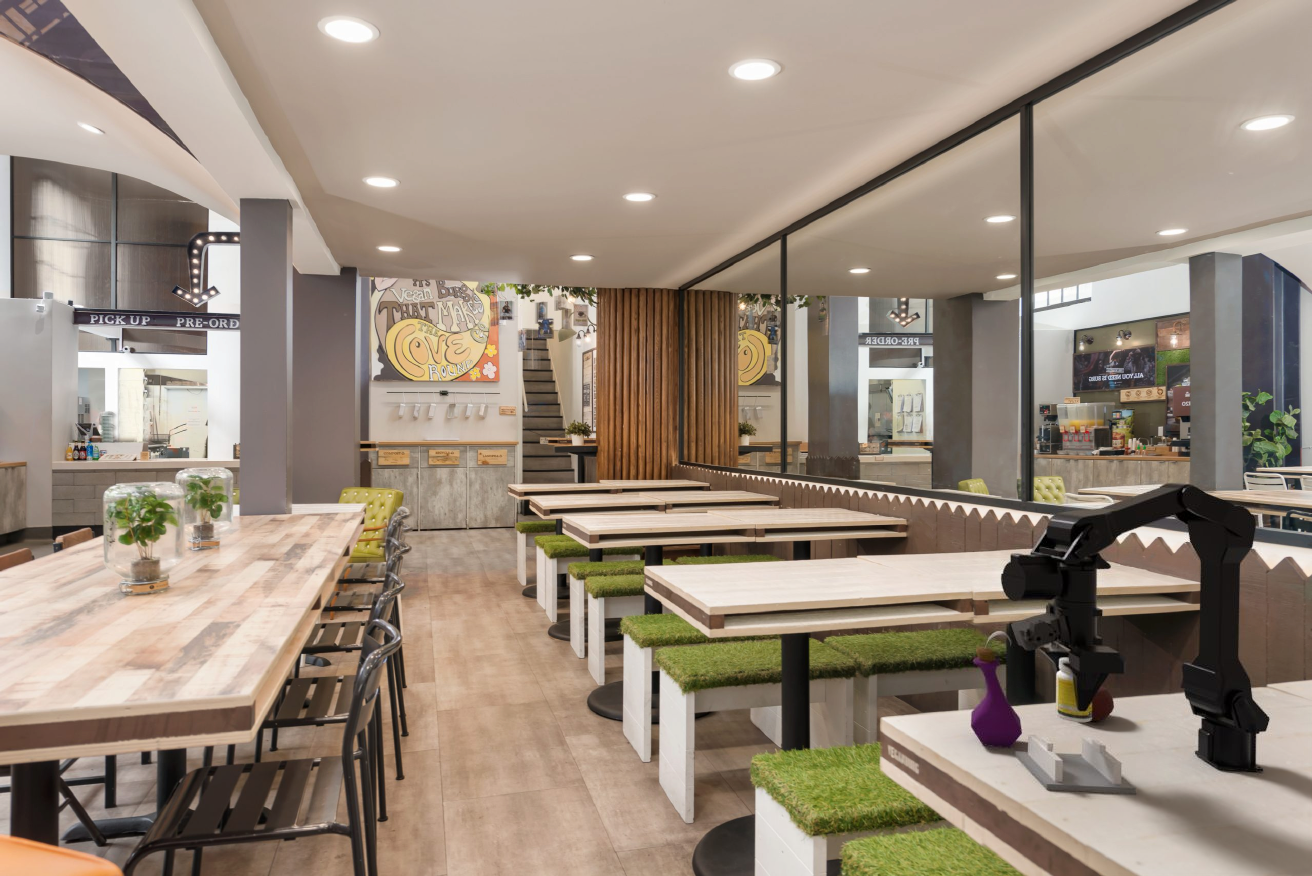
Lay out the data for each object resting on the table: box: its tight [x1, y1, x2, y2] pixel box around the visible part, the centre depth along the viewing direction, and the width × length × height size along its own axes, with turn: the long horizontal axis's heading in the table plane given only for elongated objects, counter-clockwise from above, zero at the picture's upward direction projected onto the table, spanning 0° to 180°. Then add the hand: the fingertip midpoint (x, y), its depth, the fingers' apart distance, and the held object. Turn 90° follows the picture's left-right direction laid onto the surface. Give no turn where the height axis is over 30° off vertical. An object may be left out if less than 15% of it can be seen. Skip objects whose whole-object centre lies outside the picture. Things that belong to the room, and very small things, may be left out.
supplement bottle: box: [1055, 657, 1092, 723], centre depth 119 cm, size 5×5×8 cm
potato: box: [1090, 685, 1115, 722], centre depth 144 cm, size 7×10×6 cm
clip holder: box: [1015, 734, 1137, 795], centre depth 119 cm, size 12×12×5 cm
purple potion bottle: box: [970, 630, 1023, 749], centre depth 131 cm, size 8×8×18 cm
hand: (1074, 705), depth 119 cm, fingers closed on supplement bottle, 5 cm apart
